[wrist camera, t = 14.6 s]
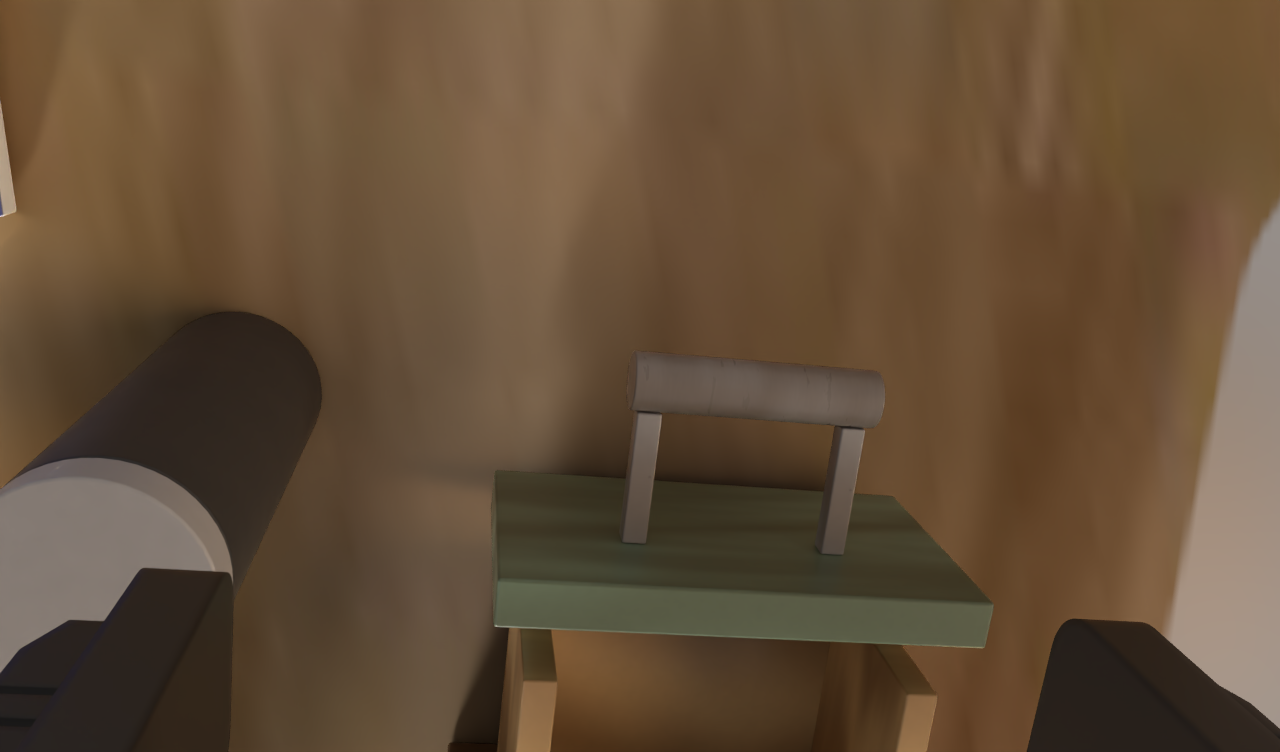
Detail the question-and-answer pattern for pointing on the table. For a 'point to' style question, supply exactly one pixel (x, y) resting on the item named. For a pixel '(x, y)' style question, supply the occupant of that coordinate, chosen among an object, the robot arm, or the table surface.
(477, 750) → the cabinet
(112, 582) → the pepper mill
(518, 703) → the drawer
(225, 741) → the robot arm
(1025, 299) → the table surface
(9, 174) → the hard drive
